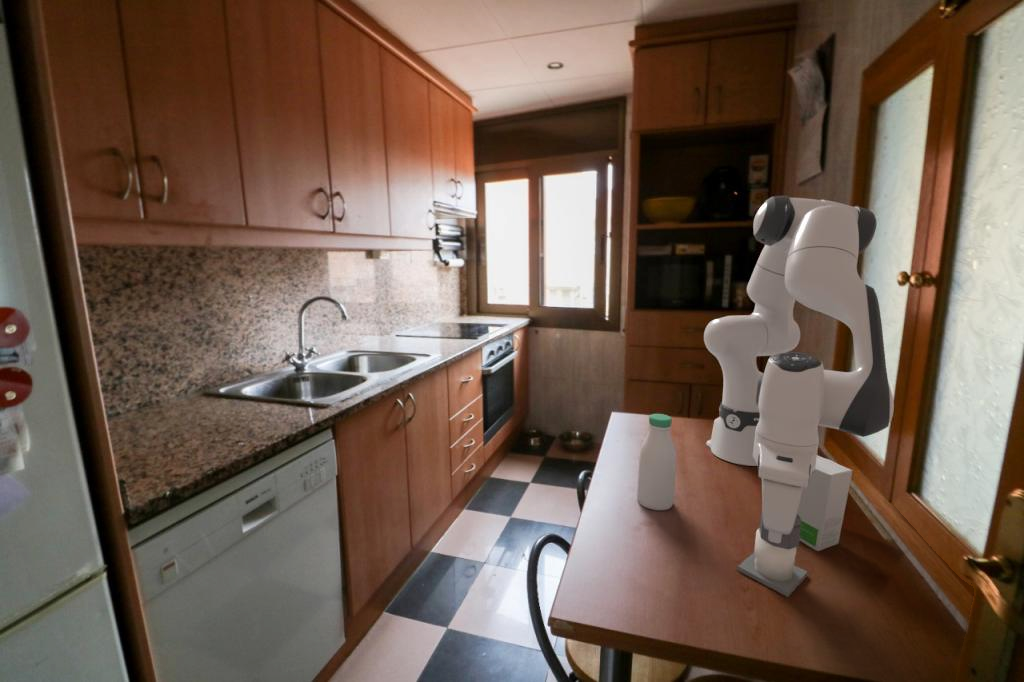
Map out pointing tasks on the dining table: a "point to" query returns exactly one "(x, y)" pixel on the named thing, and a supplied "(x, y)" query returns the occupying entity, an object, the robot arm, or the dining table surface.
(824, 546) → the skincare box
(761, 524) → the cap
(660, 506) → the milk bottle
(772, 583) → the jar
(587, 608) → the dining table surface
